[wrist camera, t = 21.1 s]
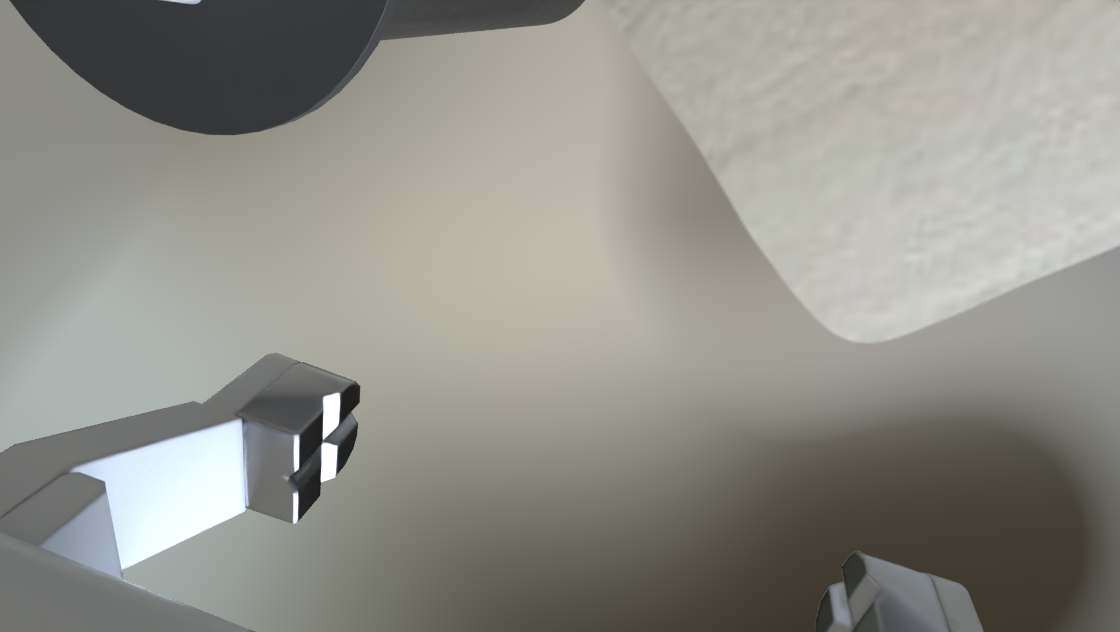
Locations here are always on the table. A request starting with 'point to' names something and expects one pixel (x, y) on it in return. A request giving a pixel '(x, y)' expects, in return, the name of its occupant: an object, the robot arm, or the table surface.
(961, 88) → the table surface
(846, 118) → the table surface
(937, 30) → the table surface
